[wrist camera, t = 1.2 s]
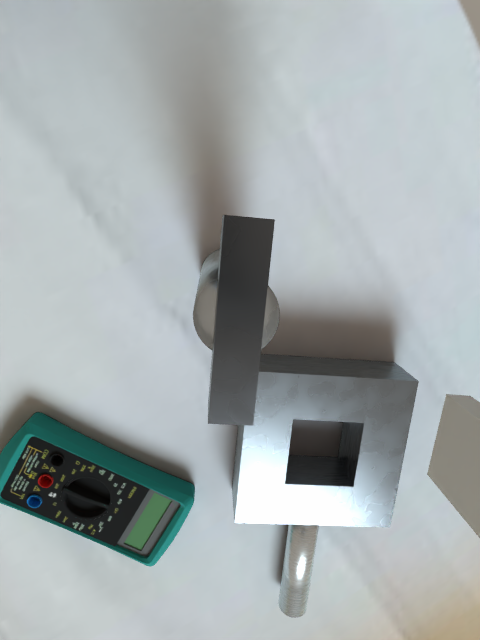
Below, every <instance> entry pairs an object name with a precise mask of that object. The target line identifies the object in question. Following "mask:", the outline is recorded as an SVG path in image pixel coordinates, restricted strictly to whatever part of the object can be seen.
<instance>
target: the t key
mask: <svg viewBox="0 0 480 640" xmlns="http://www.w3.org/2000/svg"><path fill="white" fill-rule="evenodd" d="M274 221H275V220H274V219H263V218H252V217H241V216H230V215H223V218H222V231H221V244H220V250H217V251H214V252H213V253H211V254H210V255H209V256H208V257H207V258H206V259H205V261H204V263H203V265H202V269H201V274H200V279H199V284H198V289H197V294H196V300H195V305H194V311H193V320H194V326H195V329H196V332H197V334H198V336H199V337H200V339H201V340H202V342H203V343H204V344H205V345H206V346H207V347H208V348H210V349H211V350H212V361H211V374H210V387H209V400H208V424H229V425H249V426H253V423H254V414H255V404H256V394H257V385H258V375H259V365H260V356H261V349H262V348H264V347H265V346H266V345H267V344H268V343H269V342H270V341H271V339H272V338H273V336H274V335H275V333H276V330H277V328H278V324H279V318H280V312H279V305H278V302H277V299H276V297H275V295H274V293H273V291H272V290H271V289H270V287H269V286H268V279H269V269H270V260H271V250H272V240H273V231H274Z"/></svg>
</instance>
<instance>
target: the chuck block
mask: <svg viewBox="0 0 480 640" xmlns="http://www.w3.org/2000/svg"><path fill="white" fill-rule="evenodd" d="M418 382H419V381H418V380H416V379H415V378H414V377H413V376H411V375H410V374H409V373H407V372H406V371H405V370H404V369H402V368H401V367H400V366H399V365H397V364H396V363H395V362H380V361H364V360H348V359H333V358H317V357H301V356H286V355H270V354H261V356H260V365H259V375H258V385H257V394H256V404H255V414H254V423H253V426H249V425H238V433H237V444H236V454H235V465H234V475H233V486H232V494H233V507H234V519H235V523H260V524H289V527H288V534H287V542H286V549H285V557H284V564H283V572H282V580H281V587H280V595H279V607H280V609H281V611H282V612H283V613H284V614H286V615H287V616H290V617H295V618H296V617H300V616H302V615H303V614H304V613H305V611H306V607H307V600H308V594H309V587H310V580H311V574H312V567H313V561H314V554H315V547H316V541H317V534H318V528H319V525H327V526H361V527H390V524H391V519H392V514H393V509H394V504H395V499H396V494H397V489H398V484H399V478H400V473H401V468H402V463H403V458H404V453H405V448H406V443H407V438H408V433H409V427H410V422H411V417H412V412H413V407H414V402H415V397H416V392H417V387H418ZM293 419H297V420H316V421H336V422H343V428H342V435H341V441H340V447H339V454H338V457H318V456H295V455H289V447H290V439H291V431H292V424H293Z"/></svg>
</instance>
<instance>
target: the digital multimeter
mask: <svg viewBox="0 0 480 640" xmlns="http://www.w3.org/2000/svg"><path fill="white" fill-rule="evenodd" d="M42 439H43V440H42ZM44 440H45V441H44ZM53 444H54V445H53ZM55 445H56V446H55ZM22 451H23V452H22ZM75 454H76V455H75ZM77 455H78V456H77ZM79 456H80V457H79ZM81 457H82V458H81ZM86 459H87V460H86ZM88 460H89V461H88ZM90 461H91V462H90ZM92 462H93V463H92ZM94 463H95V464H94ZM97 464H98V465H97ZM99 465H100V466H99ZM101 466H102V467H101ZM103 467H104V468H103ZM13 468H14V469H13ZM105 468H106V469H105ZM110 470H111V471H110ZM112 471H113V472H112ZM114 472H115V473H114ZM116 473H117V474H116ZM118 474H119V475H118ZM123 476H124V477H123ZM125 477H126V478H125ZM127 478H128V479H127ZM129 479H130V480H129ZM131 480H132V481H131ZM136 482H137V483H136ZM138 483H139V484H138ZM140 484H141V485H140ZM142 485H143V486H142ZM194 493H195V487H194V485H193V484H192V483H189V482H187V481H184V480H182V479H180V478H177V477H175V476H172V475H170V474H167V473H165V472H163V471H160V470H158V469H155V468H153V467H150V466H148V465H146V464H144V463H141V462H139V461H137V460H135V459H133V458H130V457H128V456H126V455H124V454H122V453H119V452H117V451H115V450H113V449H111V448H109V447H107V446H105V445H103V444H101V443H99V442H97V441H95V440H93V439H91V438H89V437H87V436H85V435H83V434H81V433H79V432H77V431H75V430H73V429H71V428H69V427H67V426H65V425H63V424H62V423H60V422H58V421H56V420H54V419H52V418H50V417H49V416H47V415H45V414H43V413H40V412H37V413H35V414H34V415H33V416H32V417H31V418H30V419H29V420H28V421H27V422H26V423H25V424H24V425H23V426H22V427H21V428H20V430H19V431H18V432H17V433H16V434H15V435H14V436H13V437H12V438H11V440H10V441H9V442H8V444H7V445H6V446H5V447H4V449H3V450H2V452H1V454H0V503H1V504H4V505H7V506H9V507H12V508H15V509H17V510H20V511H23V512H25V513H28V514H30V515H32V516H35V517H37V518H40V519H42V520H45V521H47V522H50V523H52V524H55V525H57V526H59V527H62V528H64V529H67V530H69V531H71V532H74V533H76V534H78V535H81V536H83V537H85V538H88V539H90V540H92V541H94V542H97V543H99V544H101V545H104V546H106V547H108V548H110V549H112V550H115V551H117V552H119V553H121V554H123V555H125V556H127V557H129V558H132V559H134V560H136V561H138V562H140V563H142V564H144V565H146V566H153V565H155V564H156V563H157V561H158V560H159V559H160V557H161V556H162V555H163V554H164V552H165V551H166V549H167V548H168V547H169V545H170V544H171V543H172V541H173V540H174V538H175V536H176V535H177V533H178V532H179V530H180V528H181V526H182V525H183V523H184V521H185V519H186V517H187V515H188V513H189V511H190V509H191V507H192V505H193V503H194ZM61 500H62V501H61ZM179 506H180V507H179ZM104 514H105V515H104ZM99 517H100V518H99Z"/></svg>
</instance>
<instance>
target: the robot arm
mask: <svg viewBox="0 0 480 640" xmlns="http://www.w3.org/2000/svg"><path fill="white" fill-rule="evenodd" d="M427 475H428V476H429V477H430V478H431V479H432V481H433V482H434V483H435V484H436V485H437V487H438V488H439V489H440V490H441V492H442V493H443V494H444V495H445V496H446V498H447V499H448V500H449V501H450V502H451V504H452V505H453V506H454V507H455V509H456V510H457V511H458V512H459V513H460V515H461V516H462V517H463V518H464V520H465V521H466V522H467V523H468V524H469V526H470V527H471V528H472V529H473V530H474V532H475V533H476V534H477V535H478V537H479V538H480V402H478V401H477V400H475V399H474V398H473V397H471V396H464V395H450V394H446V398H445V402H444V406H443V411H442V415H441V419H440V423H439V427H438V431H437V436H436V440H435V444H434V448H433V452H432V456H431V461H430V465H429V469H428V473H427Z"/></svg>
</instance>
